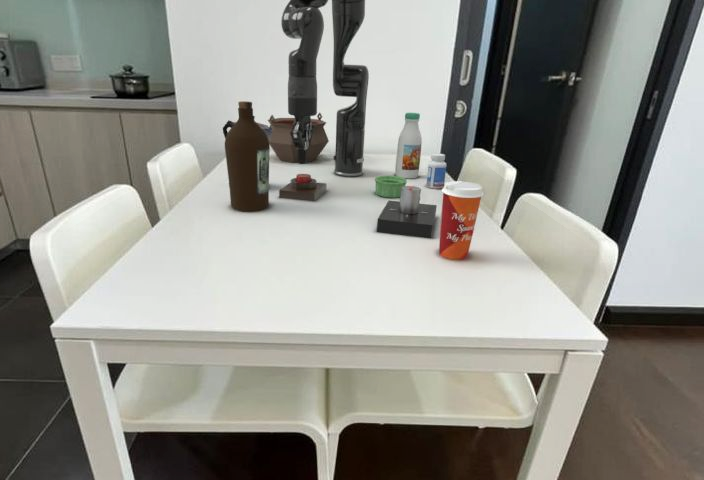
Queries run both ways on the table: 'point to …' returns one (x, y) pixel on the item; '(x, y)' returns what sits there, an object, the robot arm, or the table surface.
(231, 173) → the olive oil
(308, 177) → the power button
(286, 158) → the brown cauldron
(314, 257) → the table surface
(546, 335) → the table surface
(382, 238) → the table surface
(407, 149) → the milk bottle
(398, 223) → the panel
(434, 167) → the pill bottle
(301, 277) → the table surface
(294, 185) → the dark brown square base
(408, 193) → the knob
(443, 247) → the paper cup
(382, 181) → the ramekin
